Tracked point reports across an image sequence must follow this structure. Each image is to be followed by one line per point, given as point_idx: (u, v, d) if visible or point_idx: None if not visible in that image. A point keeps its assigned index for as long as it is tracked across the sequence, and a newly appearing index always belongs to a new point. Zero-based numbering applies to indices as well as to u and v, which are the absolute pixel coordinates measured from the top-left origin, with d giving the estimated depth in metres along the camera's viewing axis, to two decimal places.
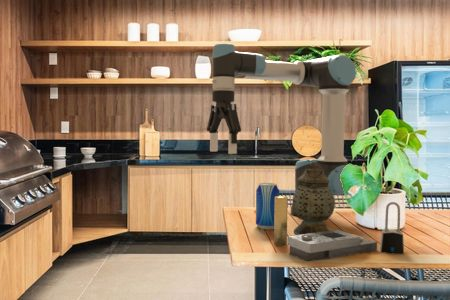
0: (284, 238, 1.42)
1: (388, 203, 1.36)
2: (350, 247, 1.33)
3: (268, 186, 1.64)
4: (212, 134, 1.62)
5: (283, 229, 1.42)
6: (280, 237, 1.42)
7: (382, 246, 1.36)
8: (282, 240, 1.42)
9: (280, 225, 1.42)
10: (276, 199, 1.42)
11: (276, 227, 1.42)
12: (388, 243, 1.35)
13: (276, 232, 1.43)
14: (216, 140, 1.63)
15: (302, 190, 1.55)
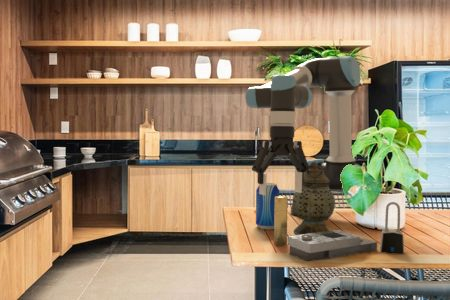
0: (284, 238, 1.42)
1: (388, 203, 1.36)
2: (350, 247, 1.33)
3: (268, 186, 1.64)
4: (296, 173, 1.47)
5: (283, 229, 1.42)
6: (280, 237, 1.42)
7: (382, 246, 1.36)
8: (282, 240, 1.42)
9: (280, 225, 1.42)
10: (276, 199, 1.42)
11: (276, 227, 1.42)
12: (388, 243, 1.35)
13: (276, 232, 1.43)
14: (299, 180, 1.45)
15: (302, 190, 1.55)
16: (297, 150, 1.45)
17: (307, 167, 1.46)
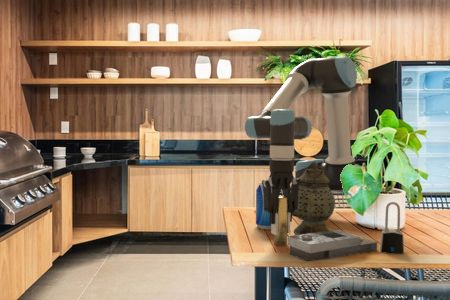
0: (284, 237, 1.42)
1: (388, 203, 1.37)
2: (350, 247, 1.33)
3: None
4: None
5: (283, 229, 1.42)
6: (280, 237, 1.42)
7: (382, 246, 1.36)
8: (282, 240, 1.42)
9: (280, 225, 1.42)
10: None
11: None
12: (388, 243, 1.35)
13: None
14: (287, 220, 1.44)
15: (302, 190, 1.55)
16: (293, 187, 1.45)
17: (296, 207, 1.45)
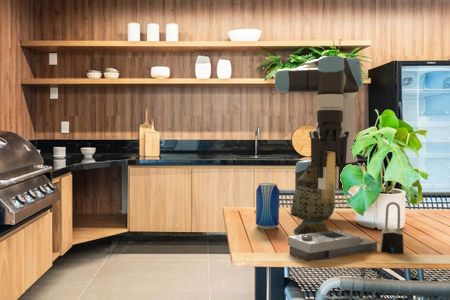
0: (332, 194, 1.34)
1: (388, 203, 1.37)
2: (350, 247, 1.33)
3: (268, 186, 1.64)
4: None
5: (331, 185, 1.34)
6: (328, 193, 1.34)
7: (382, 246, 1.36)
8: (330, 197, 1.34)
9: (328, 181, 1.34)
10: None
11: None
12: (388, 243, 1.35)
13: None
14: (335, 175, 1.36)
15: (302, 190, 1.55)
16: (341, 140, 1.37)
17: (344, 161, 1.37)
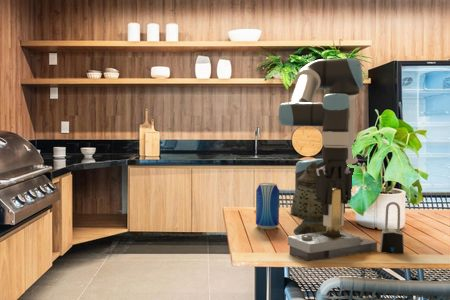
0: (337, 232, 1.34)
1: (388, 203, 1.37)
2: (350, 247, 1.33)
3: (268, 186, 1.64)
4: None
5: (336, 223, 1.34)
6: (334, 231, 1.34)
7: (382, 246, 1.36)
8: (336, 235, 1.34)
9: (334, 219, 1.34)
10: None
11: None
12: (388, 243, 1.35)
13: None
14: None
15: (302, 190, 1.55)
16: (346, 176, 1.37)
17: (349, 197, 1.37)
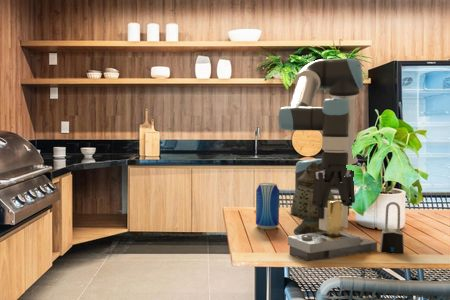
0: None
1: (388, 203, 1.37)
2: (350, 247, 1.33)
3: (268, 186, 1.64)
4: (341, 206, 1.38)
5: (336, 235, 1.34)
6: None
7: (382, 246, 1.36)
8: None
9: (334, 231, 1.34)
10: (330, 203, 1.34)
11: (329, 233, 1.35)
12: (388, 243, 1.35)
13: None
14: (344, 214, 1.37)
15: (302, 190, 1.55)
16: (347, 180, 1.38)
17: (353, 200, 1.38)
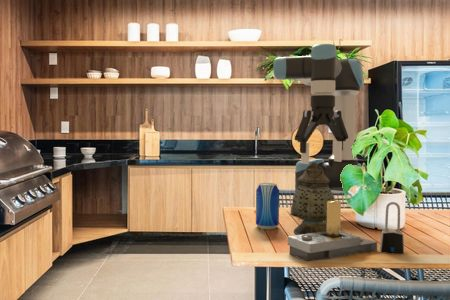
0: None
1: (388, 203, 1.37)
2: (350, 247, 1.33)
3: (268, 186, 1.64)
4: (335, 142, 1.48)
5: (336, 235, 1.34)
6: None
7: (382, 246, 1.36)
8: None
9: (334, 231, 1.34)
10: (329, 204, 1.34)
11: (329, 233, 1.35)
12: (388, 243, 1.35)
13: None
14: (338, 149, 1.47)
15: (302, 190, 1.55)
16: (337, 120, 1.46)
17: (346, 136, 1.47)
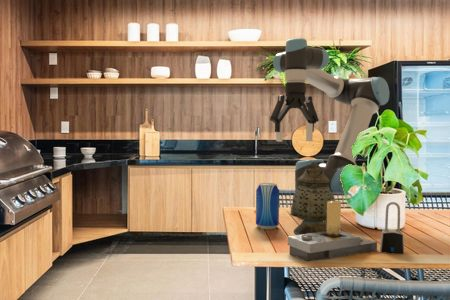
0: None
1: (388, 203, 1.37)
2: (350, 247, 1.33)
3: (268, 186, 1.64)
4: (307, 124, 1.69)
5: (336, 235, 1.34)
6: None
7: (382, 246, 1.36)
8: None
9: (334, 231, 1.34)
10: (329, 204, 1.34)
11: (329, 233, 1.35)
12: (388, 243, 1.35)
13: None
14: (310, 130, 1.68)
15: (302, 190, 1.55)
16: (308, 105, 1.68)
17: (317, 119, 1.69)
